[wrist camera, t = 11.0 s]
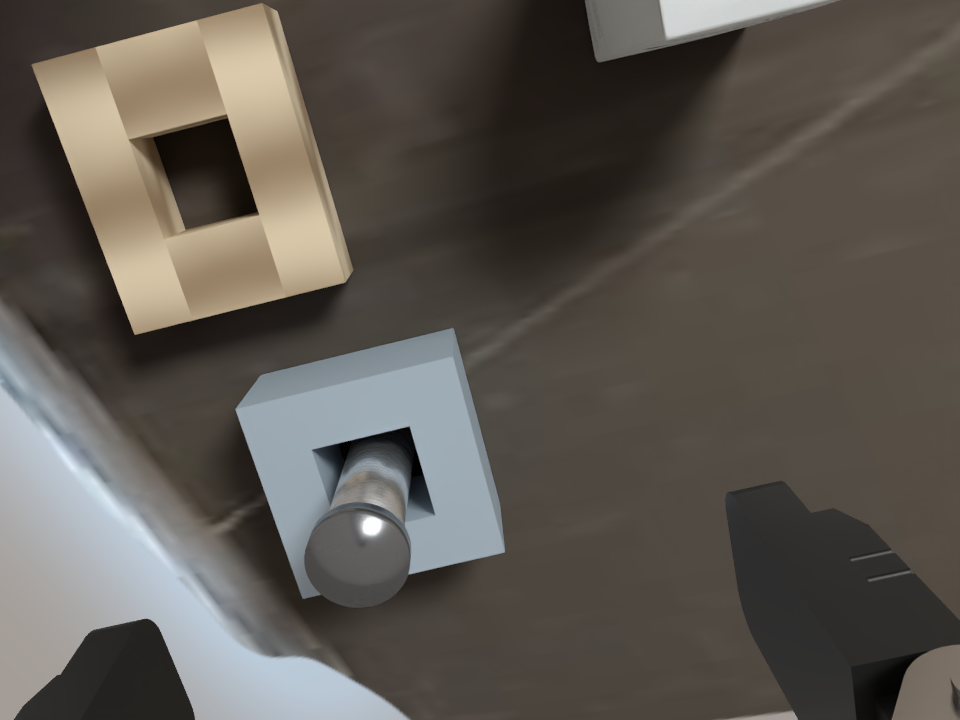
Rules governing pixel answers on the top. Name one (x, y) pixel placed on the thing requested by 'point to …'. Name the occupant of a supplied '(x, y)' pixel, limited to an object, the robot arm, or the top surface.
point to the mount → (144, 184)
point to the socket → (368, 411)
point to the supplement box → (676, 21)
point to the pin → (365, 524)
